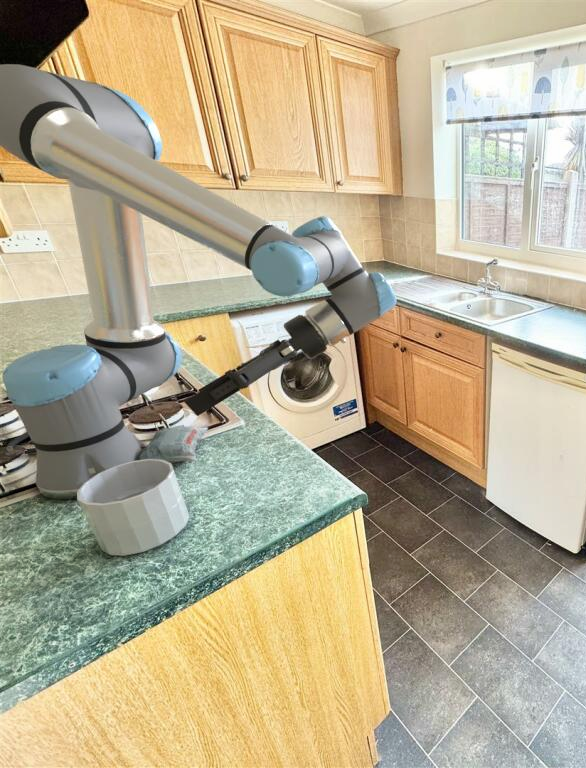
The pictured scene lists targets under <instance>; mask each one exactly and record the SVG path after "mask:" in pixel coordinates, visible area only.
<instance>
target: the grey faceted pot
mask: <svg viewBox="0 0 586 768" xmlns="http://www.w3.org/2000/svg"><path fill="white" fill-rule="evenodd" d="M76 500H77V502H78V504H79V506H80V508H81V511H82V513H83V515H84V516H85V519H86V521H87V522H88V525H89V527H90V529H91V531H92V534H93V535H94V538H95V539H96V542H97V543H98V545H99V547H100V550H102V551H103V552H104V553H106V554H108V555H110V556H121V557H122V556H129V555H135V554H139V553H140V554H141V553H145V552H146V551H149V550H152V549H154V548H156V547H159V546H161V545H164V544H165V543H166V542H167V541H170V540H171V539H173V538H175V537H176V536H177V535H178V534H179V533H180V532H181V531H182V530H183V529H185V527H186V526H187V524H188V521H189V520H190V513H189V511H188V508H187V505H186V501H185V499H184V496H183V493H182V491H181V487H180V484H179V481H178V477H177V476H176V473H175V470H174V467H173V463H169V462H167V461H165V460H159V459H145V460H137V461H132V462H128V463H125V464H121V465H117V466H114V467H112V468H110V469H108V470H105V471H103V472H101V473H98V474H97V475H95V476H94V477H92V478H91V479H89V480H88V481H86V482H85V483H84V484H83V485H82V486H81V488H80V489H79V490H78V491H77V498H76Z"/></svg>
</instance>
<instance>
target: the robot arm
mask: <svg viewBox="0 0 586 768" xmlns="http://www.w3.org/2000/svg"><path fill="white" fill-rule="evenodd" d="M0 147H1V148H3V149H4V150H5V151H7V152H8V153H9V154H11V155H13V156H14V157H16V158H17V159H20V160H21V161H23V162H25V163H27V164H28V165H30V166H32V167H34V168H36V169H37V170H40V171H42V172H44V173H46V174H48V175H50V176H52V177H54V178H56V179H59V180H65V181H66V182H67V183H68V186H69V192H70V198H71V203H72V208H73V215H74V220H75V226H76V230H77V237H78V242H79V248H80V254H81V258H82V264H83V269H84V274H85V275H84V276H85V280H86V285H87V291H88V297H89V303H90V308H91V313H92V319H93V320H92V321H91V322H89V323H88V324H87V325H85V326H84V328H83V334H84V338H85V339H84V340H85V343H86V344H63V345H57V346H52V347H51V348H48V349H45V348H44V349H43V348H42V349H39V350H35V351H33V352H31V353H28V354H25V355H23V356H20V357H19V358H17V359H15V360H14V361H11V362H10V363H9V364H8V365H7V366H5V369H4V370H3V372H2V377H1V378H2V382H3V384H4V387H5V389H6V396H7V399H8V400H9V401H10V402H11V403H12V404H13V406H14V408H15V410H16V412H17V414H18V416H19V418H20V420H21V422H22V424H23V426H24V428H25V430H26V432H24V433H22V434H21V435H18V436H17V437H16V438H14V439H12V440H11V441H9V442H8V443H7V444H6V446H14V447H16V446H17V445H18V444H19V443H21V442H23V441H24V440H26V439H27V438H30V440H31V442H32V444H33V446H34V447H31V448H30V447H29V448H25V449H26V450H27V451H25V454H24V455H29V454H36V475H35V485H36V487H37V489H38V491H39V493H40V494H41V495H42V496H44V497H46V498H49V499H55V500H71V499H72V500H73V499H77V491H78V490H79V489H80V488H81V486H82V485H83V484H84V483H85V482H86V481H88V480H89V479H91V478H92V477H94V476H95V475H97V474H98V473H101V472H103V471H105V470H108V469H110V468H112V467H114V466H117V465H121V464H125V463H128V462H132V461H137V460H139V457H140V454H141V453H142V452H143V451H144V449H145V448H146V447H147V446H146V445H145V444H144V443H143V442H142V441H141V440H140V439H139V438H138V437H137V436H136V435H135V434H134V433H133V432H132V430H130V429H129V428H128V427H127V426H126V424H125V421H124V419H123V415H122V413H121V410H120V407H121V406H123V405H126V404H127V403H129V402H130V401H133V400H134V399H136V398H138V397H140V396H141V395H143V394H145V393H147V392H149V391H151V390H152V389H155V388H158V387H160V386H162V385H163V384H164V383H166V382H168V380H169V379H171V378H172V377H174V376H175V375H176V374H177V373H178V372H179V369H180V367H181V365H182V358H183V357H182V356H183V355H182V351H181V348H180V346H179V344H178V342H177V341H174V340H173V339H174V337H173V336H172V335H170V333H168V332H166V328H165V326H164V325H163V324H161V323H160V322H158V321H156V320H155V317H154V308H153V299H152V293H151V282H150V275H149V267H148V266H149V265H148V257H147V249H146V248H147V247H146V241H145V232H144V224H143V223H144V222H143V216H145V217H147V218H149V219H152V220H153V221H155V222H157V223H159V224H161V225H163V226H165V227H167V228H169V230H173V231H174V232H176V233H178V234H180V235H182V236H184V237H186V238H188V239H189V240H192V241H193V242H195V243H197V244H200V246H203V247H205V248H207V249H209V250H211V251H213V252H215V253H216V254H219V255H221V256H222V257H224V258H227V259H228V260H230V261H232V262H233V263H236V264H238V265H240V266H242V267H243V268H245V269H248V270H249V271H251V273H252V277H253V278H254V280H255V282H257V283H258V284H259V285H260V287H262V290H264V291H265V292H267V293H269V294H271V295H274V296H277V297H283V298H284V297H291V296H295V295H299V294H303V293H307V292H308V291H310V290H311V289H313V288H314V287H317V286H318V285H320V284H323V285H324V287H325V288H326V289H327V291H328V292H329V293H330V295H331V296H330V297H328V298H326V299H323V300H321V301H320V302H318V303H317V304H315V305H313V306H311V307H309V308H307V309H306V310H305V311H304V313H305V315H303V314H298V315H296V316H295V317H292V318H291V319H289V320H288V321H285V322H284V323H283V328H284V330H285V331H286V333H287V334H288V335H289V338H287V339H286V338H285V339H281V341H280V339H277V340H275V341H273V342H271V343H270V344H269V346H267V347H265V348H264V349H262V350H261V351H259V354H258V355H255V356H253V357H252V358H251V359H248V360H247V361H245V362H242V363H241V364H240V365H238V366H237V367H235V368H233V369H229V370H226V371H225V372H224V374H222V375H221V376H219V377H218V378H216V379H214V380H213V381H211V382H209V383H207V384H205V385H204V386H202V387H200V388H199V389H198V392H197V393H196V394H194V395H192V396H191V397H189V398H187V399H185V400H184V401H183V403H184V404H185V405H186V406H187V407H188V408H189V409H190V410H191V411H192V412H193V413H194V414H195V416H197V417H198V416H200V415H202V414H204V413H205V412H208V411H209V410H210V409H212V408H213V407H215V406H217V405H218V404H220V403H221V402H223V401H225V400H227V399H228V398H230V397H231V396H233V395H235V394H237V393H238V392H240V391H241V390H243V389H247V388H249V387H250V385H252V384H253V383H255V382H256V381H258V380H260V379H261V378H262V377H264V376H265V375H267V374H268V373H270V372H272V371H274V370H278V368H281V367H282V366H283V365H286V364H288V363H290V362H291V361H293V360H294V359H295V357H297V355H298V352H299V351H301V352H302V353H303V355H304V356H306V358H307V359H308V360H314V359H315V358H317V357H318V356H320V355H322V354H324V353H325V352H326V351H327V349H328V346H329V347H334V346H336V345H337V344H338V343H341V344H345V343H347V338H348V337H349V336H352V335H353V334H355V333H356V332H358V331H360V330H361V329H363V328H365V327H366V326H368V325H370V324H372V323H373V322H375V321H376V320H378V319H380V318H381V317H382V316H384V315H385V314H386V313H388V312H389V311H391V310H392V309H394V308H395V307H396V305H397V296H396V293H395V291H394V289H393V287H392V285H391V284H390V282H389V281H388V280H387V279H386V277H385V276H384V275H383V274H381V272H378V271H373V272H369V273H368V272H367V270H366V269H364V267H363V266H362V263H360V261H359V259H358V258H357V256H356V254H355V253H354V251H353V250H352V248H351V247H350V245H349V243H348V242H347V240H346V239H345V237H344V234H343V233H342V231H340V230H339V228H338V227H337V226H336V225H335V223H334V222H333V220H332V219H331V218H330V217H328V216H326V215H325V216H323V215H322V216H318V217H315V218H313V219H310V220H308V221H306V222H305V223H303V224H301V225H300V226H298V227H297V228H296V229H294V230H293V231H292V232H291V233H288V232H286V231H285V230H283V229H281V228H279V227H277V226H275V225H273V224H272V223H270V222H268V221H267V220H265V219H262V218H261V217H259V216H257V215H256V214H254V213H252V212H250V211H249V210H246V209H245V208H243V207H242V206H239V205H237V204H236V203H233V202H232V201H230V200H228V199H227V198H225V197H223V196H221V195H219V194H217V193H216V192H214V191H212V190H210V189H208V188H207V187H205V186H203V185H202V184H199V183H197V182H196V181H194V180H192V179H190V178H189V177H187V176H185V175H183V174H181V173H179V172H177V171H176V170H174V169H171V168H170V167H168V166H167V165H165V164H163V163H161V162H159V160H160V158H161V157H162V152H163V143H162V138H161V134H160V131H159V129H158V126H157V124H156V123H155V121H154V120H153V118H152V117H151V116H150V114H149V113H148V112H147V111H146V110H145V109H144V108H143V106H142V105H141V104H140V103H138V102H137V101H136V100H135V99H134V98H132V97H131V96H129V95H127V94H125V93H124V92H122V91H120V90H117V89H115V88H111V87H108V86H105V85H103V84H100V83H98V82H93V81H88V80H83V79H79V78H76V77H71V76H66V75H62V74H59V73H55V72H50V71H46V70H42V69H40V68H37V67H32V66H28V65H24V64H18V63H17V64H14V63H13V64H12V63H11V64H10V63H6V64H5V63H4V64H0Z"/></svg>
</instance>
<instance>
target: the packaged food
mask: <svg viewBox="0 0 586 768" xmlns="http://www.w3.org/2000/svg"><path fill="white" fill-rule="evenodd" d="M207 430H209V426H208V425H202V426H199V427H198V426H185V425H184V424H181V425H177V426H172V427H168V428H164V429H159V430H157V431H156V432H154V435H153V437H152V438H151V440H150V441H149V443H148V444H147V446H146V448H145V449H144V451H143V452H142V453H141V454H140V457H139V460H145V459H159V460H165V461H167V462H169V463H171V464H174V463H180V462H186V461H188V462H194V461H195V460H196V459H197V456H196V453H195V451H196V449H197V446H198V444H199V442H200V441H201V440H202V438H203V437H204V436H205V433H206V432H207Z"/></svg>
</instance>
